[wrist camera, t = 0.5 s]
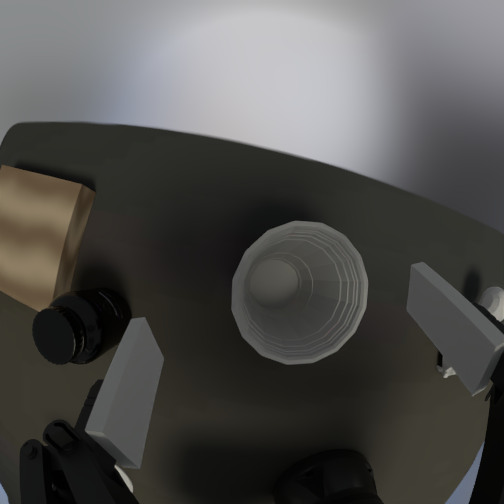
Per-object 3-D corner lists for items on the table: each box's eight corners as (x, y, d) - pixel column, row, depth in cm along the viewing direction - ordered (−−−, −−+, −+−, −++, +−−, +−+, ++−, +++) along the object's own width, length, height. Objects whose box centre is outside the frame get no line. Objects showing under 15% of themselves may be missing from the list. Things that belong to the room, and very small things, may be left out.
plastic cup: (285, 349, 32) (318, 391, 20) (207, 296, 31) (199, 315, 19) (339, 273, 33) (395, 276, 21) (265, 217, 32) (289, 189, 20)
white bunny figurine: (452, 360, 38) (496, 283, 33) (475, 390, 30) (527, 306, 25) (421, 353, 37) (469, 268, 33) (445, 388, 29) (504, 292, 25)
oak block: (66, 312, 29) (50, 317, 25) (-7, 274, 28) (-25, 275, 24) (96, 192, 30) (82, 184, 26) (18, 172, 29) (2, 165, 25)
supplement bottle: (136, 294, 30) (92, 309, 19) (128, 350, 30) (86, 389, 18) (85, 280, 30) (26, 286, 18) (79, 334, 29) (23, 361, 17)
